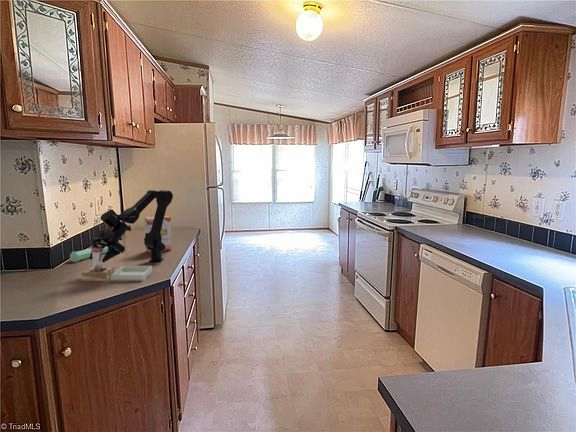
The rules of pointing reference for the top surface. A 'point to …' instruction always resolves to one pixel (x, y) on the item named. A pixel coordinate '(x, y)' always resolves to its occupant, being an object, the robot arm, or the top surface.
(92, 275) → the socket block
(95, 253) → the clear tall cylinder
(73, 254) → the container
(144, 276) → the tray
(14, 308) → the top surface
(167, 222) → the cracker box
